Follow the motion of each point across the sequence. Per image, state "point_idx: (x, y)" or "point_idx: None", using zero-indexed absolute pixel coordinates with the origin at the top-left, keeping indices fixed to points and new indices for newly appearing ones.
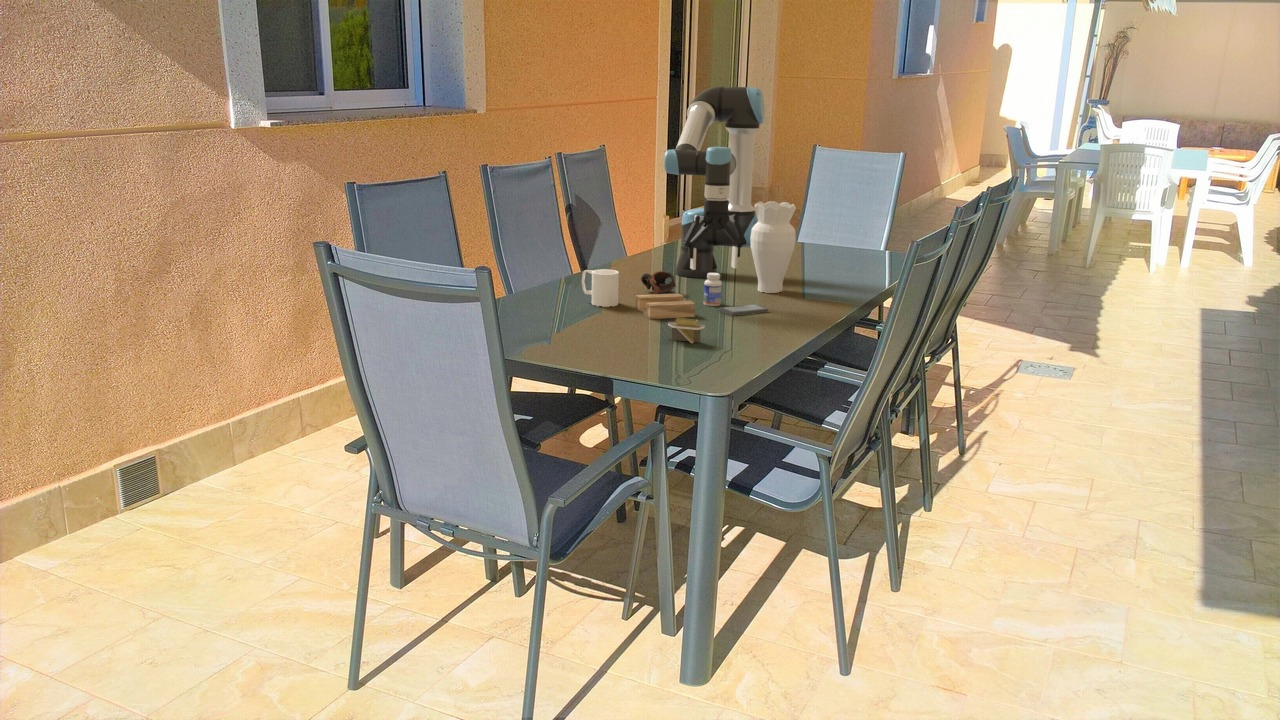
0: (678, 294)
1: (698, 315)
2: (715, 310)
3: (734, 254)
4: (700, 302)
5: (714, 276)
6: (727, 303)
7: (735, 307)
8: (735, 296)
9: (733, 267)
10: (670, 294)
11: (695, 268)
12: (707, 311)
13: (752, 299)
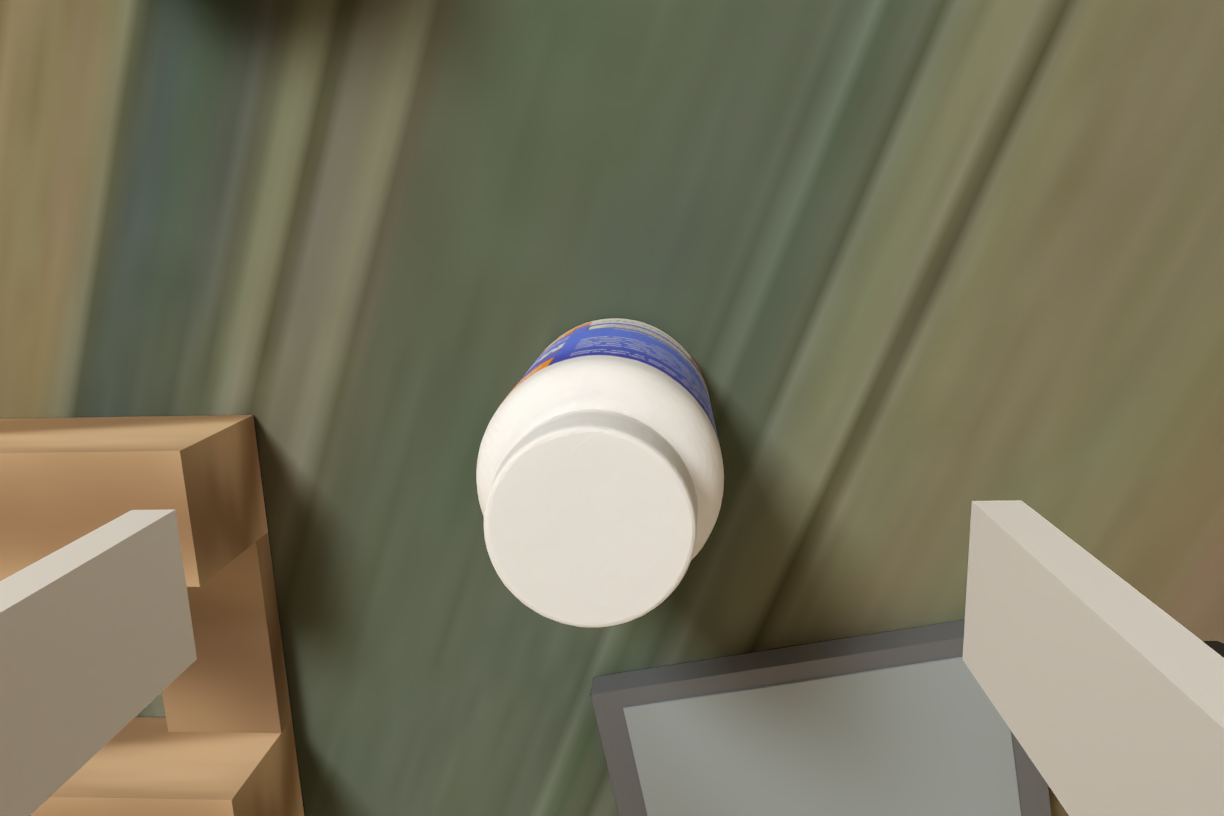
0: (158, 504)
1: (350, 781)
2: (564, 647)
3: (1092, 803)
4: (523, 293)
5: (570, 615)
6: (800, 393)
7: (749, 725)
8: (1055, 57)
9: (969, 614)
10: (67, 485)
11: (182, 671)
12: (475, 667)
13: (1181, 256)
